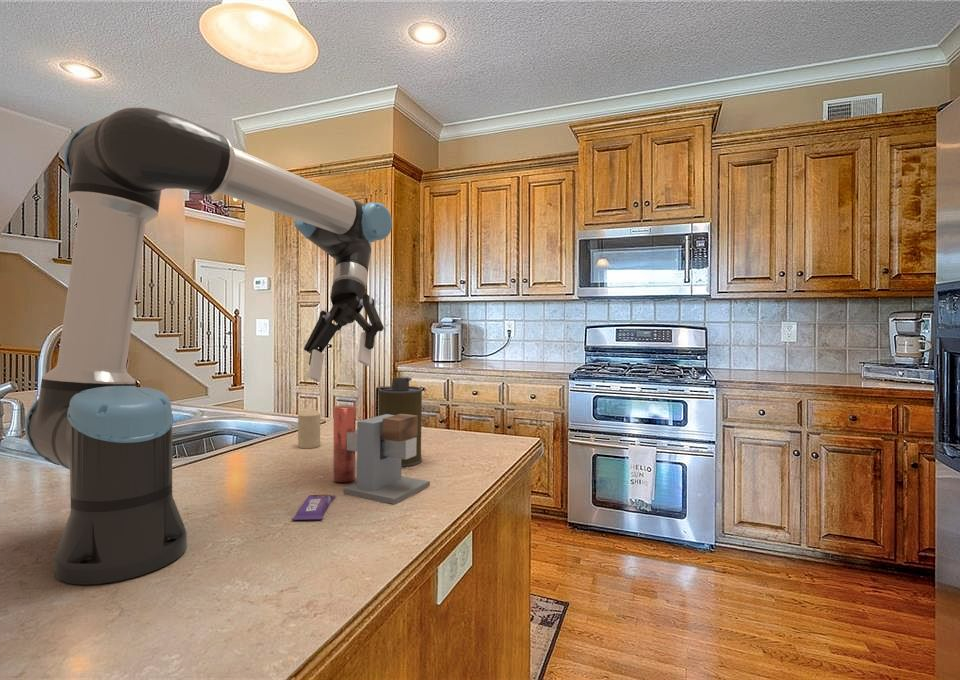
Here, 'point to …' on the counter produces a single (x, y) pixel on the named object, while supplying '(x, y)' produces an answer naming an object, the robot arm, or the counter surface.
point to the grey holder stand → (379, 468)
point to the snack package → (313, 507)
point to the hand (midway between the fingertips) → (338, 371)
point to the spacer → (399, 427)
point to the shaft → (348, 444)
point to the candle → (308, 428)
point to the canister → (402, 407)
